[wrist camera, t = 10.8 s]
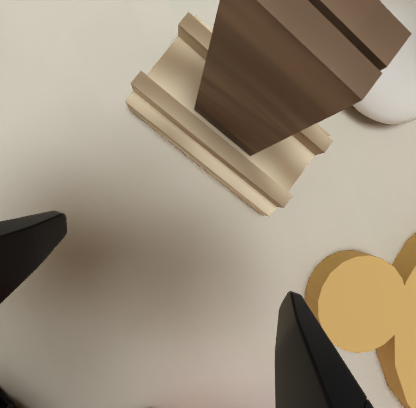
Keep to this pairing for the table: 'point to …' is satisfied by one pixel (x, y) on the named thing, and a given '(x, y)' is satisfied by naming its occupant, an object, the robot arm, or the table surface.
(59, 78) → the table surface
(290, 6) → the walnut photo frame
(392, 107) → the flower in vase
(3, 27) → the table surface
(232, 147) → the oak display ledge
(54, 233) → the robot arm
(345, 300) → the decorative plaque
